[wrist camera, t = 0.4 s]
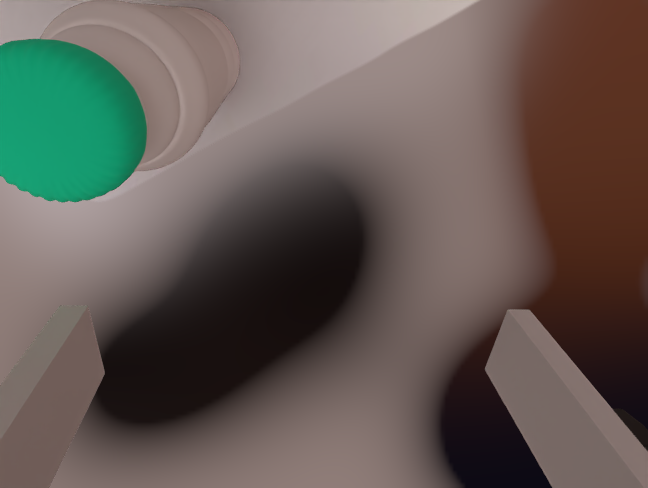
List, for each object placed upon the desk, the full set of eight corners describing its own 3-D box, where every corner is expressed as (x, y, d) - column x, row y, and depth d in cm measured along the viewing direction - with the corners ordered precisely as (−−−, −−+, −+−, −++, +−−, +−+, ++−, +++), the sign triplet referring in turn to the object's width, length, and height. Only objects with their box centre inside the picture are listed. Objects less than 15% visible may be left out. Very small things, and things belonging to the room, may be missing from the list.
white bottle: (248, 24, 32) (185, 41, 11) (232, 112, 36) (157, 263, 14) (156, -6, 31) (-137, -59, 9) (147, 88, 34) (-87, 216, 12)
